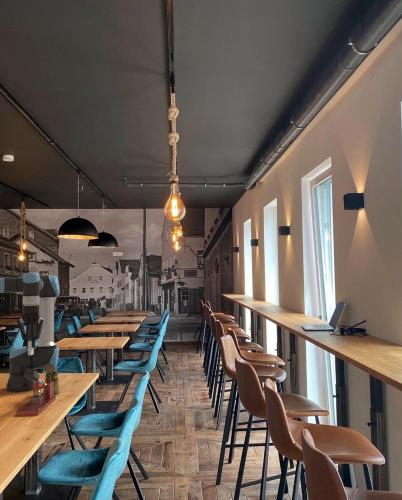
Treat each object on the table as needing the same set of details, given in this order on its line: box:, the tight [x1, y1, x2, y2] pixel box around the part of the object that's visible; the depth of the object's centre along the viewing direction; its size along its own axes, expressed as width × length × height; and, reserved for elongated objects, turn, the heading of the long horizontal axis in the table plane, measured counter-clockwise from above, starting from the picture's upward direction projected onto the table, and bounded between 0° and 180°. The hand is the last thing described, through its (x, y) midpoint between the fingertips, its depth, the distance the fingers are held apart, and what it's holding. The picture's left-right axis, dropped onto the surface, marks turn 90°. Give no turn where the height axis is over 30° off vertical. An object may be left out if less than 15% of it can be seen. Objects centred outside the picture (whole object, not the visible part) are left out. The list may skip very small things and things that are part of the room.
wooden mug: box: [42, 363, 61, 396], centre depth 232 cm, size 9×14×18 cm, turn 8°
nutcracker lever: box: [24, 369, 46, 390], centre depth 210 cm, size 23×4×2 cm, turn 1°
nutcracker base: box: [15, 381, 57, 417], centre depth 210 cm, size 25×10×10 cm, turn 1°
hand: (30, 354), depth 204 cm, fingers closed
